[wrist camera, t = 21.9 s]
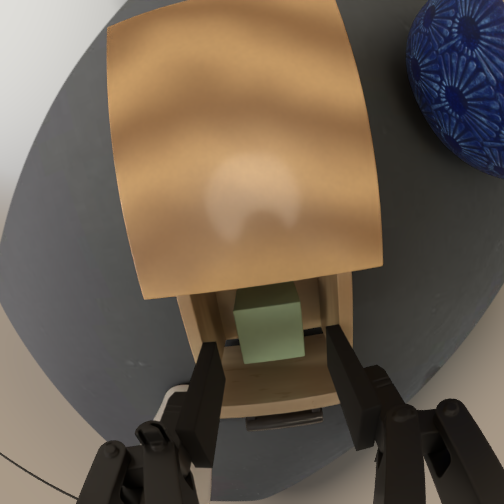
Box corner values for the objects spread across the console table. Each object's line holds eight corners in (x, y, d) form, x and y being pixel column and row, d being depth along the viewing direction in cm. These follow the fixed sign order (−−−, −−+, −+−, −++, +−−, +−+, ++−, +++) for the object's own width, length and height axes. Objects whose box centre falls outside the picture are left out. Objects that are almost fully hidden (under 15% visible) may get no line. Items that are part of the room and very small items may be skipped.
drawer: (336, 380, 24) (355, 437, 17) (226, 395, 24) (218, 454, 17) (324, 178, 19) (359, 178, 12) (180, 200, 20) (141, 212, 13)
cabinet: (335, 231, 21) (383, 266, 12) (186, 252, 22) (143, 300, 13) (305, 51, 18) (330, -13, 9) (158, 75, 18) (106, 27, 9)
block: (246, 333, 21) (243, 364, 17) (236, 286, 20) (232, 311, 16) (298, 326, 21) (305, 356, 17) (292, 278, 20) (300, 301, 16)
